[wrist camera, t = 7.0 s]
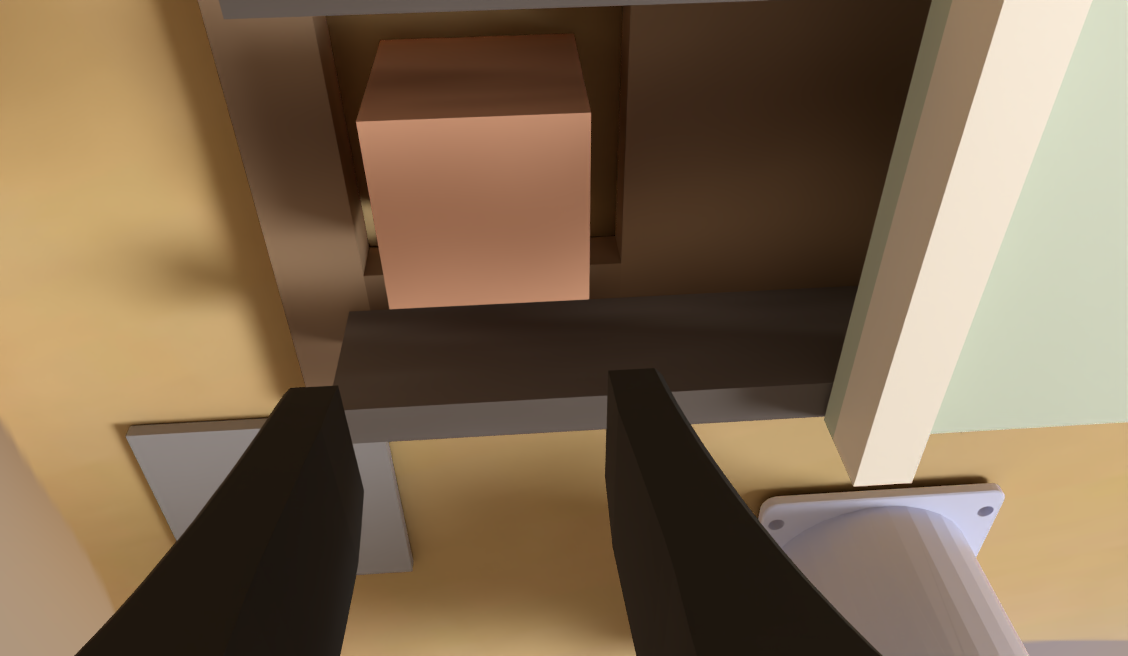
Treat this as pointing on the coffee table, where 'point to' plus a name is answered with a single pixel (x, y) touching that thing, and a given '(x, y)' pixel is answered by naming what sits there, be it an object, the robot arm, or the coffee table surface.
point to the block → (479, 169)
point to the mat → (211, 449)
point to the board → (643, 217)
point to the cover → (995, 238)
